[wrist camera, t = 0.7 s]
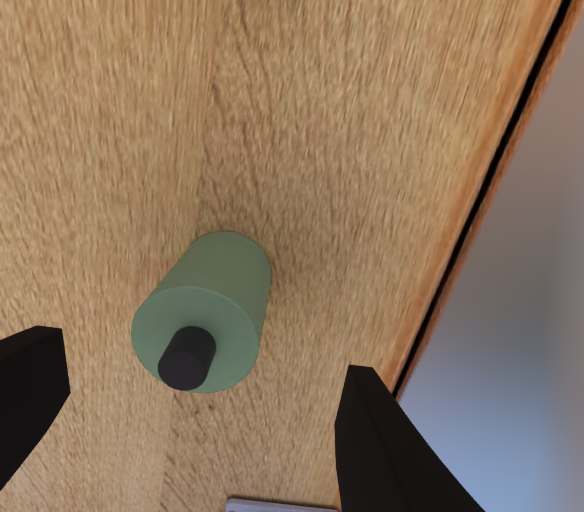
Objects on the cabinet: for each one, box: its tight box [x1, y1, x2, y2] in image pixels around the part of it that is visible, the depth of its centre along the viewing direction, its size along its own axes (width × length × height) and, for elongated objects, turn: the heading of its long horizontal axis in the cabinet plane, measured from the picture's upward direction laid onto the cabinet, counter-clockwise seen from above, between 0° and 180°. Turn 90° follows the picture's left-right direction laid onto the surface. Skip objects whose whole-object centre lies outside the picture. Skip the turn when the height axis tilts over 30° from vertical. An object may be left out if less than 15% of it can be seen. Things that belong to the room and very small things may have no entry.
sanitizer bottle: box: [131, 231, 272, 393], centre depth 15 cm, size 5×5×8 cm
